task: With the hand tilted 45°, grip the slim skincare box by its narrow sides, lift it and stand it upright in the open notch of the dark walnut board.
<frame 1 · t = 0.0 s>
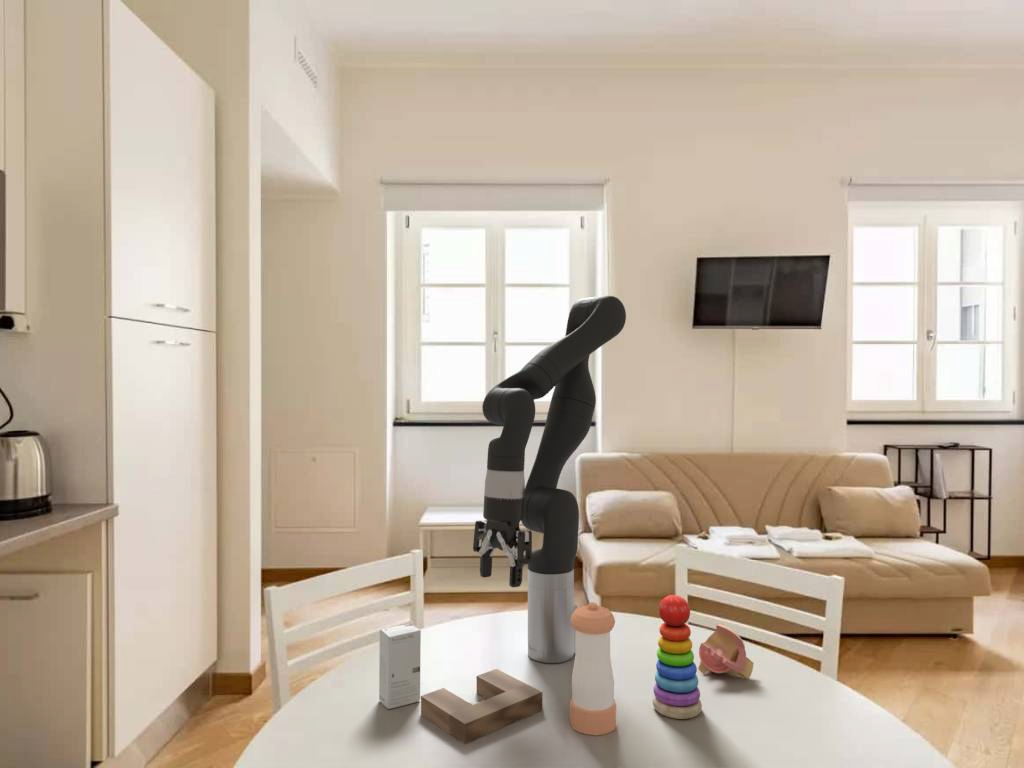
hand: (499, 581, 125), 17 cm above the table, tool pointing down, fingers open, 8 cm apart
stacking toy: (677, 710, 111), on the table
notched board: (482, 712, 110), on the table
skincare box: (400, 701, 114), on the table
pepper shaker: (592, 724, 106), on the table
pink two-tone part: (725, 676, 124), on the table
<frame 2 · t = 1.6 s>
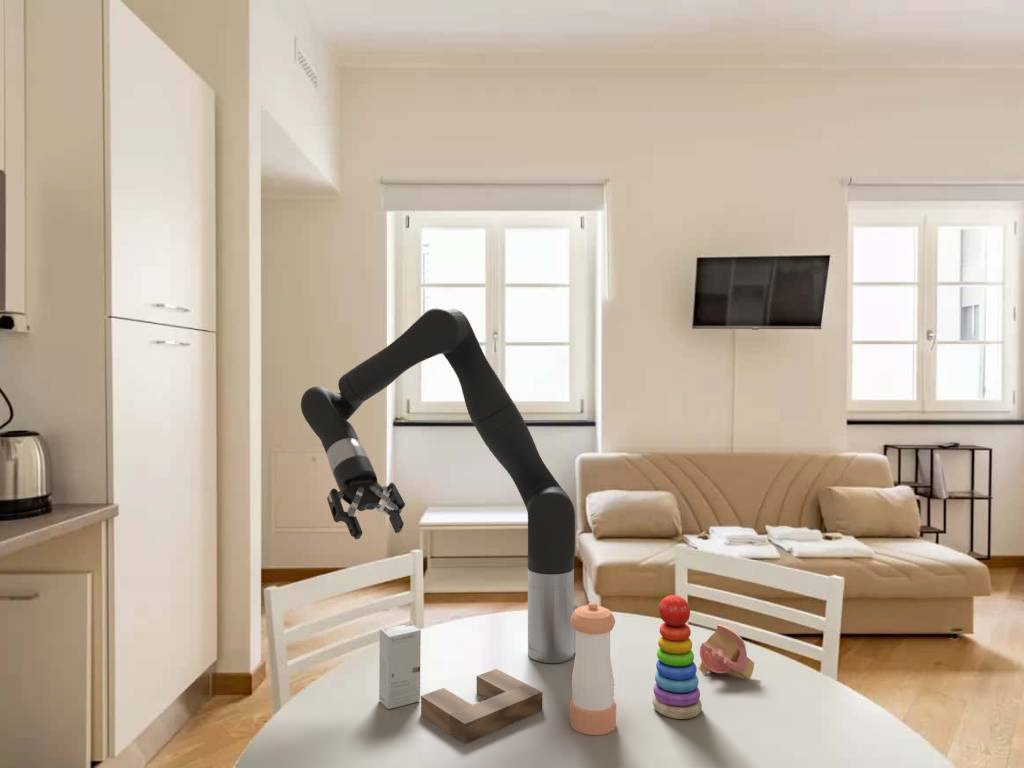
hand: (379, 533, 125), 26 cm above the table, tool tilted 45°, fingers open, 8 cm apart
nothing on the table moved.
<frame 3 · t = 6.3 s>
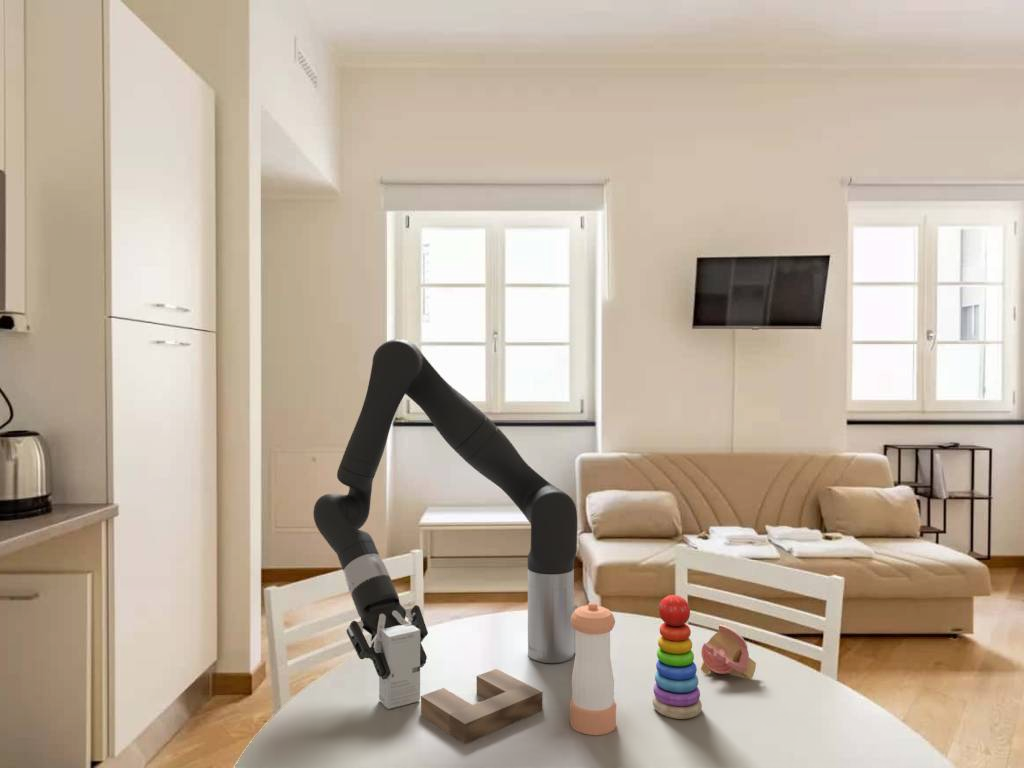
hand: (405, 670, 113), 6 cm above the table, tool tilted 45°, fingers closed on skincare box, 6 cm apart
skincare box: (399, 701, 114), on the table, touching gripper
everything else where it was.
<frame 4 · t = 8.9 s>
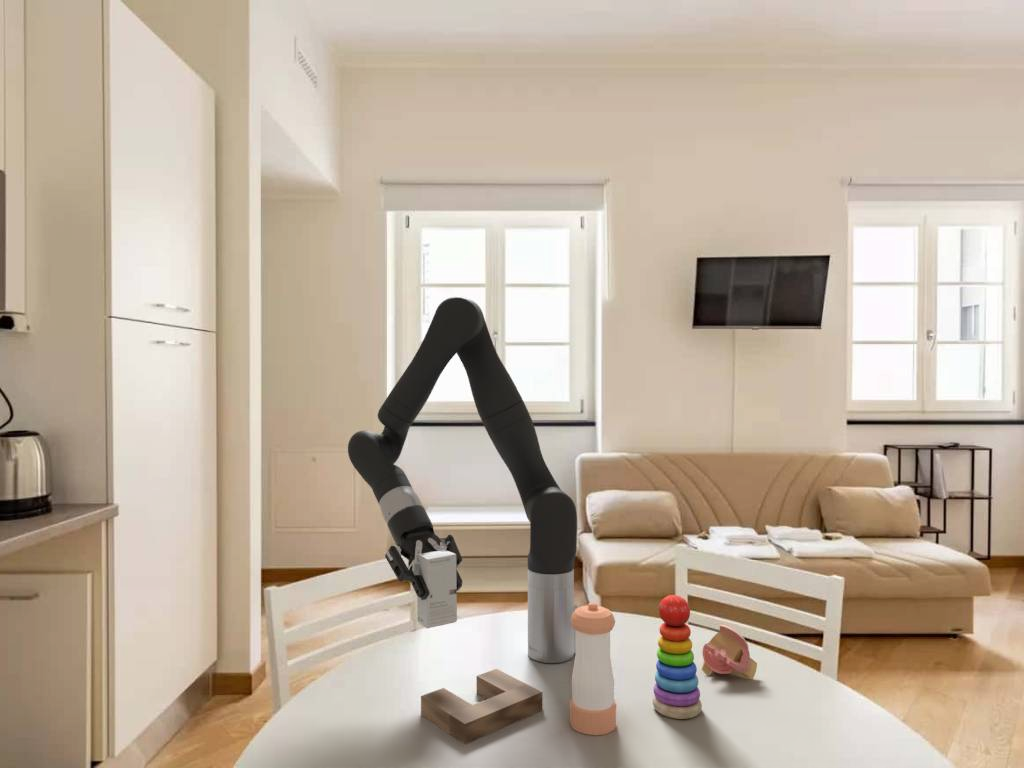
hand: (442, 592, 117), 17 cm above the table, tool tilted 45°, fingers closed on skincare box, 6 cm apart
skincare box: (437, 623, 119), point 12 cm above the table, touching gripper
everything else where it was.
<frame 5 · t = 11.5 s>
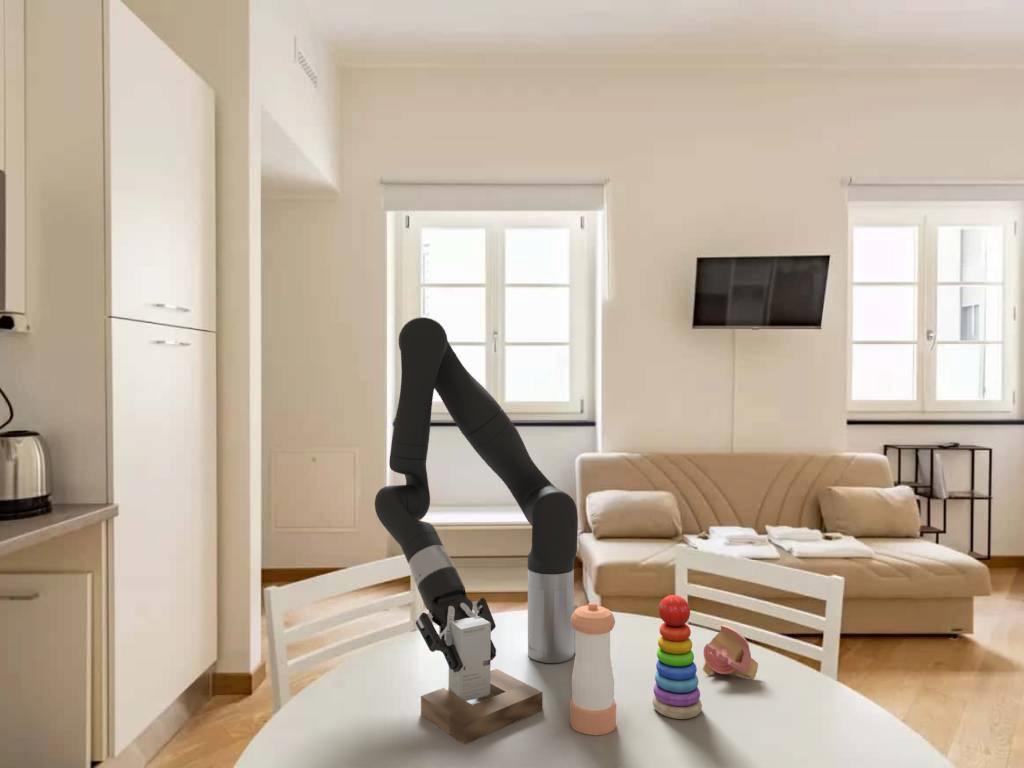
hand: (475, 663, 111), 8 cm above the table, tool tilted 45°, fingers closed on skincare box, 6 cm apart
skincare box: (469, 695, 113), point 2 cm above the table, touching gripper
everything else where it was.
when the fingers open (6 cm above the table, at t = 12.5 s): skincare box stays where it is, on the table.
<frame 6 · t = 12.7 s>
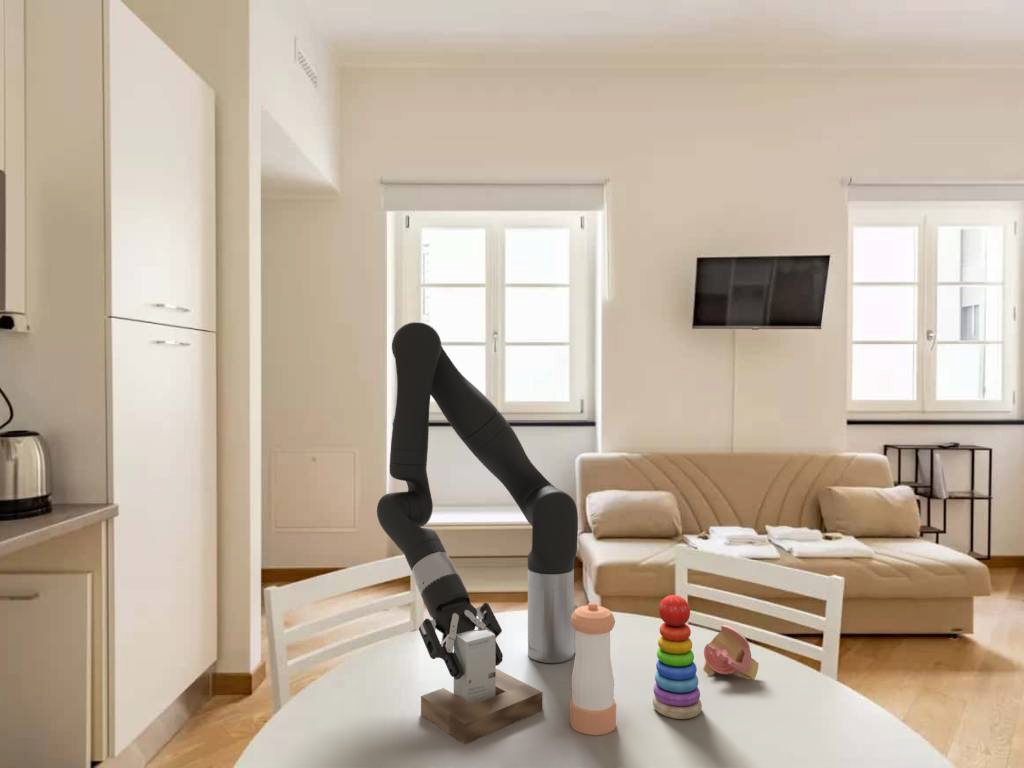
hand: (480, 670, 111), 7 cm above the table, tool tilted 45°, fingers open, 7 cm apart
skincare box: (474, 708, 112), on the table
everything else where it was.
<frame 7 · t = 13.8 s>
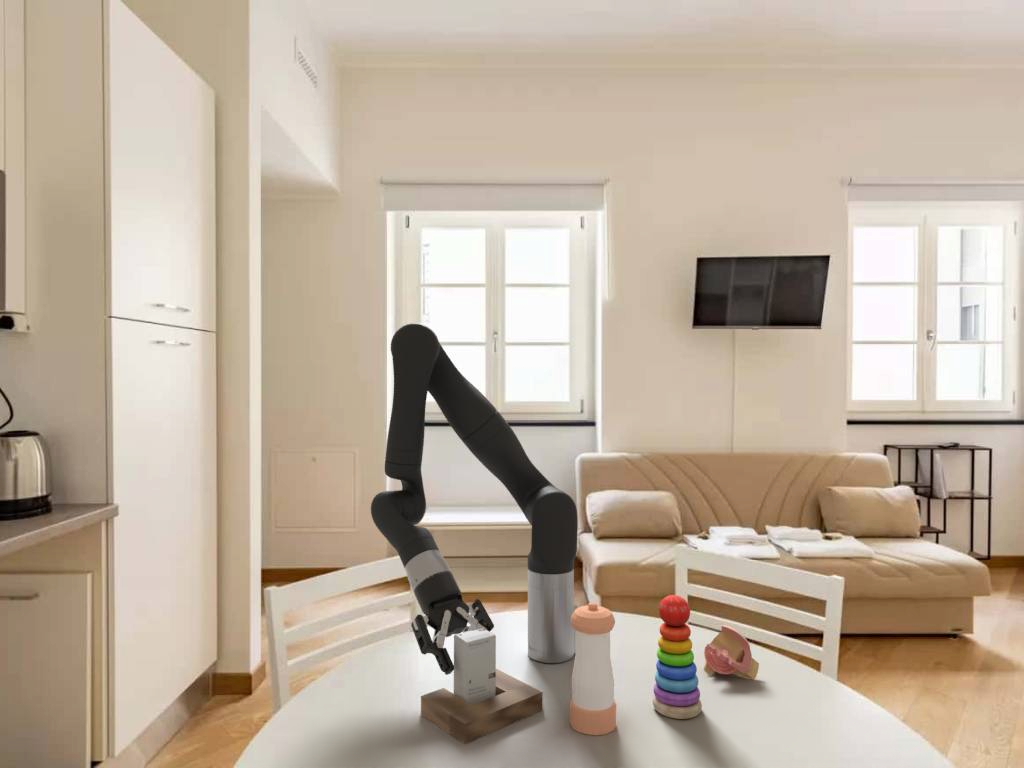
hand: (471, 665, 112), 7 cm above the table, tool tilted 45°, fingers open, 8 cm apart
nothing on the table moved.
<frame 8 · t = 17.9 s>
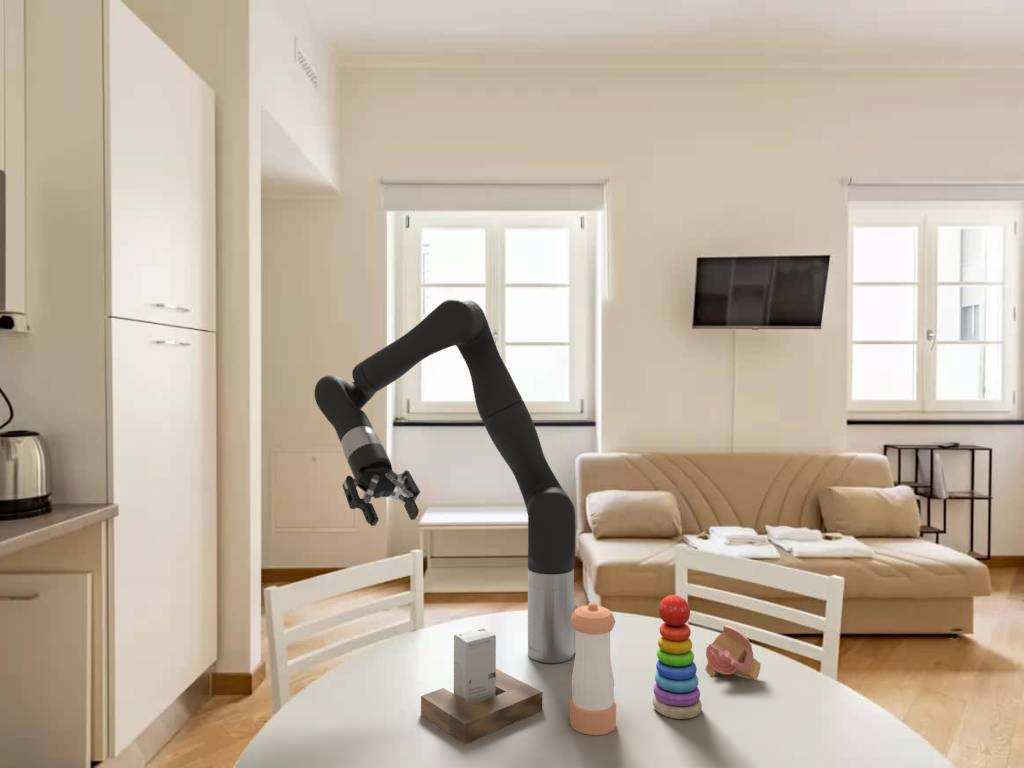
hand: (395, 520, 125), 29 cm above the table, tool tilted 45°, fingers open, 8 cm apart
at the end: skincare box 0.4 cm from the target spot on the notched board, point 0.0 cm above the notched board's base; skincare box tilted 0°; the gripper is holding nothing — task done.
